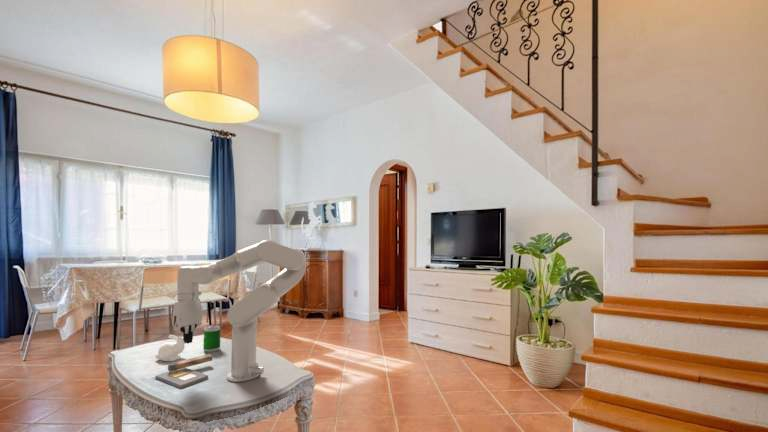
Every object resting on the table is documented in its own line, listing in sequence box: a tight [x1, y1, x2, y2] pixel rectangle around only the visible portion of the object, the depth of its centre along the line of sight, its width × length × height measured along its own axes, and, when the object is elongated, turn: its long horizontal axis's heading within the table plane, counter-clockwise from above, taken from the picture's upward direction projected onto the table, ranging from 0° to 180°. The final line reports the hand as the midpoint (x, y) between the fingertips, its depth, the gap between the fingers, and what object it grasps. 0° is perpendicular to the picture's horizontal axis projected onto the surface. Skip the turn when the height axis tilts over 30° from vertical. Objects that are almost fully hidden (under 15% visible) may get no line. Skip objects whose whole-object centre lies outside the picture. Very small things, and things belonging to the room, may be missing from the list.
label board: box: [155, 367, 209, 390], centre depth 142 cm, size 18×11×2 cm, turn 59°
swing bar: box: [167, 354, 213, 371], centre depth 151 cm, size 17×4×2 cm, turn 138°
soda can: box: [202, 324, 221, 353], centre depth 177 cm, size 8×8×12 cm
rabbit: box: [154, 334, 186, 362], centre depth 164 cm, size 12×9×12 cm
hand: (188, 342), depth 142 cm, fingers closed
